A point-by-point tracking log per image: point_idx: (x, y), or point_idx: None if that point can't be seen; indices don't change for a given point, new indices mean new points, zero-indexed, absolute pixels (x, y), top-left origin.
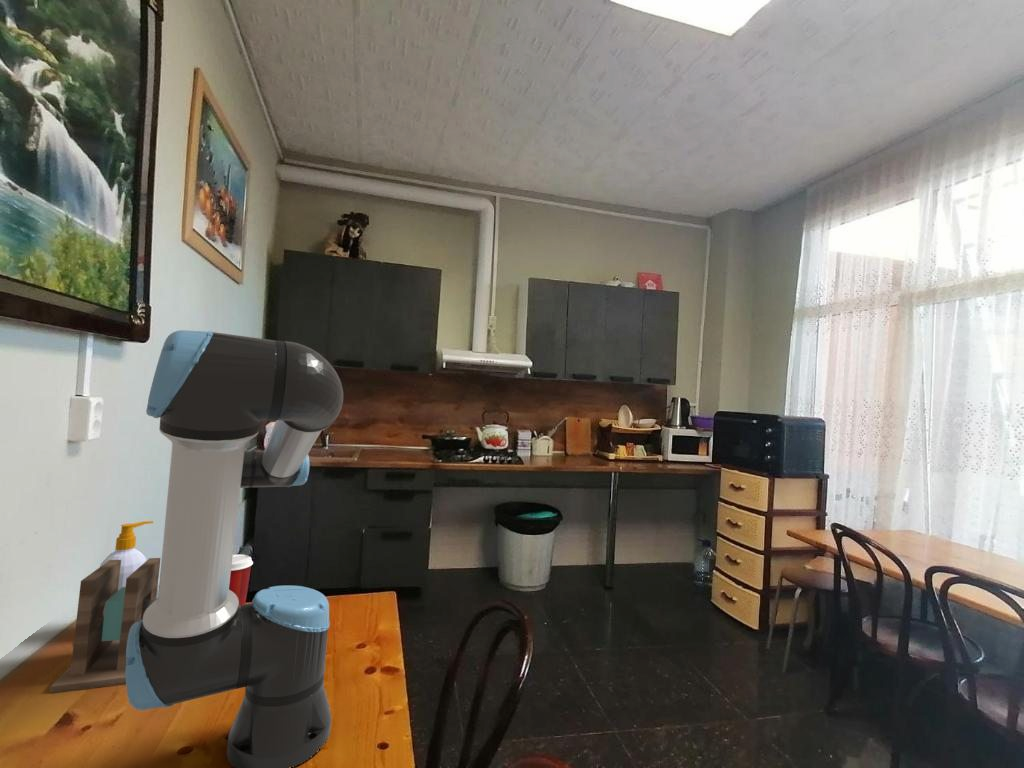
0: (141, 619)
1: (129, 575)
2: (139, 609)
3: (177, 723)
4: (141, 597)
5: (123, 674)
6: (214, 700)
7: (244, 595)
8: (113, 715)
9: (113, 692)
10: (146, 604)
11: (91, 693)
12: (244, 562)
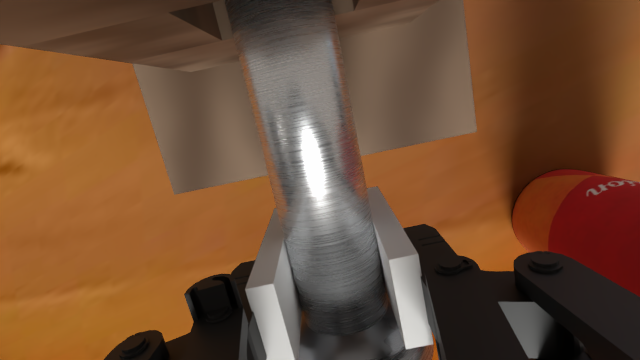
0: None
1: None
2: (137, 34)
3: (4, 315)
4: (105, 15)
5: (157, 73)
6: (98, 353)
7: None
8: (9, 153)
9: (108, 84)
10: (238, 26)
11: None
12: None
